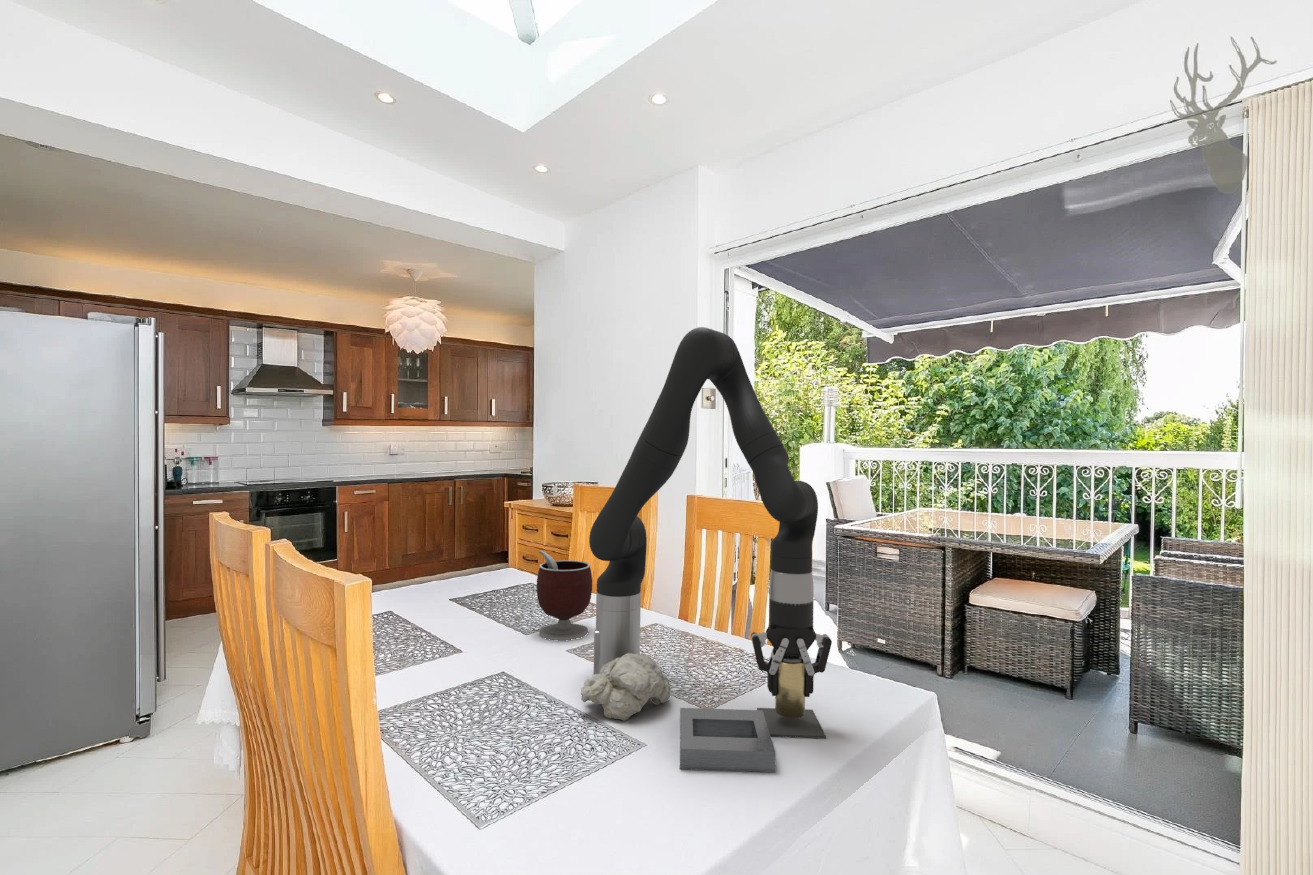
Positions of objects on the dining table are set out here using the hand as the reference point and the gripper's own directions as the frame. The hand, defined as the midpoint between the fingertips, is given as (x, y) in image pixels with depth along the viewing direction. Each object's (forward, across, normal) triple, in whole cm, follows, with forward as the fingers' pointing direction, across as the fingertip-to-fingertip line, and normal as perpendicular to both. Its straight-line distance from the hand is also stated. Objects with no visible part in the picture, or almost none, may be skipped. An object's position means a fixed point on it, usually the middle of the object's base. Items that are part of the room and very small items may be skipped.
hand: (790, 694), depth 105 cm
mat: (+5, 0, 0) cm, 5 cm away
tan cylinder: (+3, 0, 0) cm, 3 cm away
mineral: (+5, -28, +4) cm, 29 cm away
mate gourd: (+5, -49, +47) cm, 68 cm away
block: (+5, -12, -9) cm, 16 cm away
